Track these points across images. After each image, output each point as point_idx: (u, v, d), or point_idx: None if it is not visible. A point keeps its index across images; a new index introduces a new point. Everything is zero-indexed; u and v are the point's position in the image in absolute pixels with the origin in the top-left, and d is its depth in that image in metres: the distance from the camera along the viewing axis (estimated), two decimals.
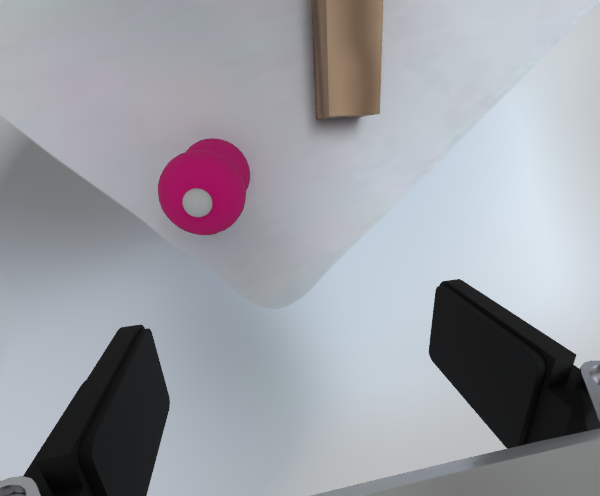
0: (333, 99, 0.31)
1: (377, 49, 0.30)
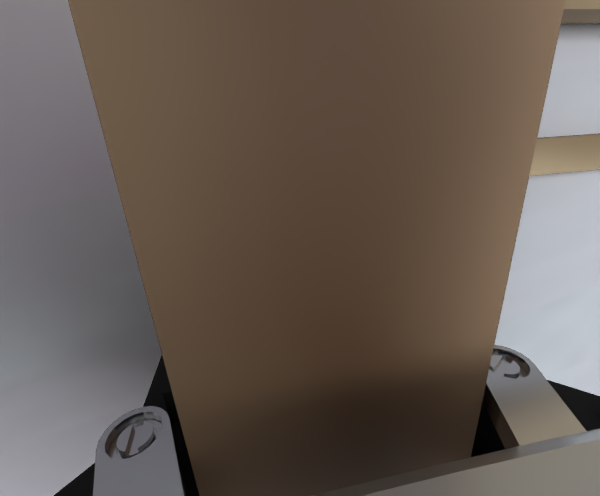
0: None
1: None
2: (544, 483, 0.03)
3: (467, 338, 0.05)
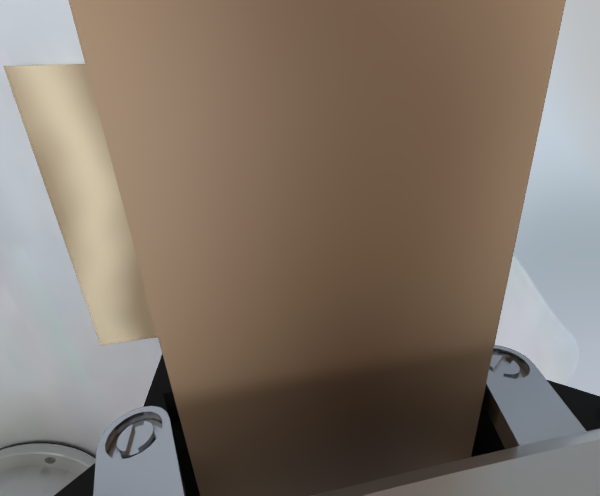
0: None
1: None
2: (544, 483, 0.03)
3: (468, 341, 0.05)
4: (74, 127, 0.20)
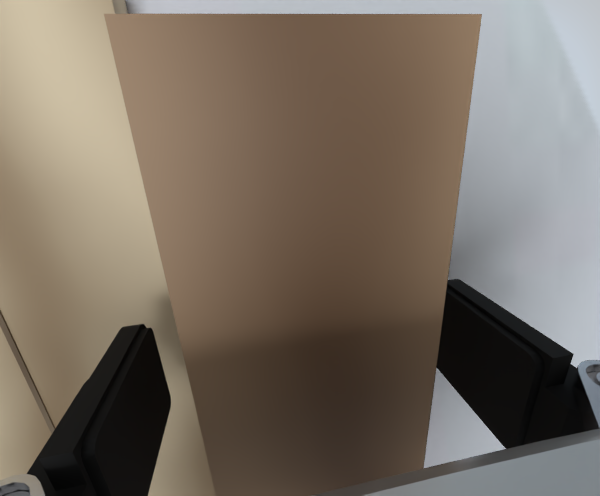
0: None
1: (409, 465, 0.08)
2: (544, 483, 0.03)
3: (420, 308, 0.07)
4: None
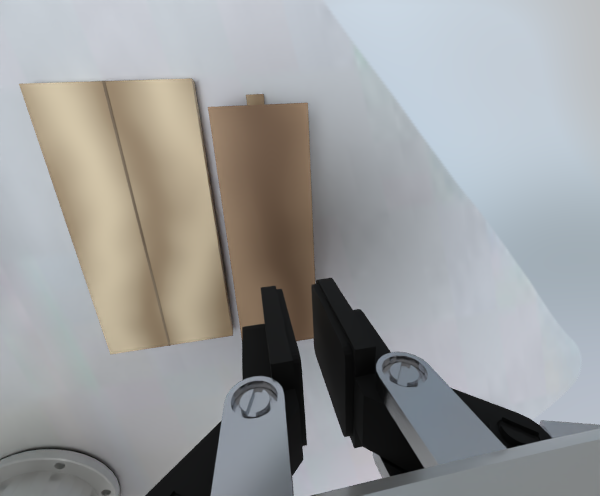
0: None
1: (308, 268, 0.21)
2: (544, 483, 0.03)
3: (302, 195, 0.19)
4: (87, 142, 0.20)
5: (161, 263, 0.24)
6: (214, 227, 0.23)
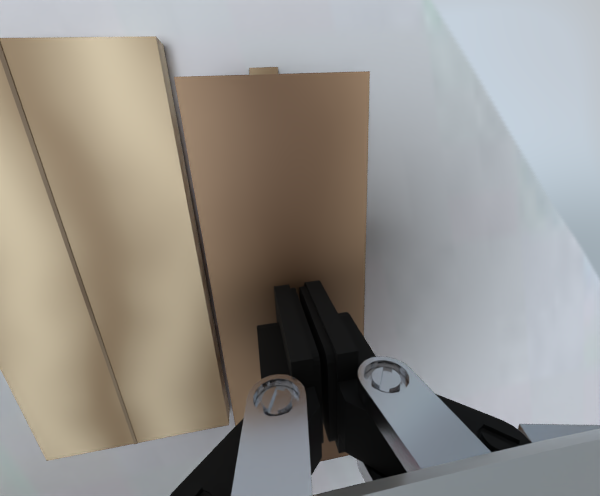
0: None
1: None
2: (544, 483, 0.03)
3: (350, 241, 0.11)
4: None
5: (118, 333, 0.15)
6: (199, 277, 0.15)
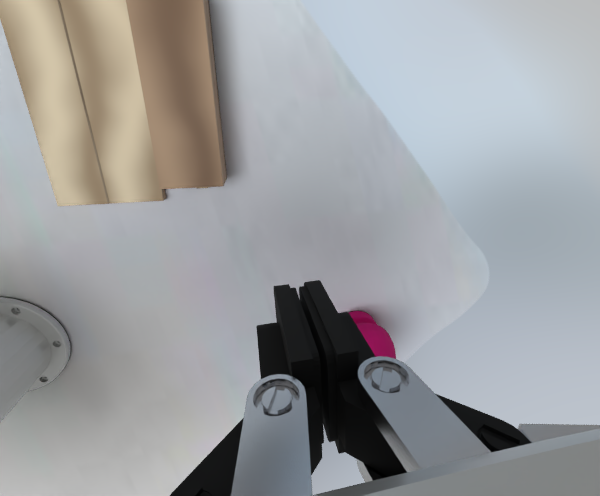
0: (162, 171, 0.27)
1: (210, 117, 0.26)
2: (544, 483, 0.03)
3: (201, 49, 0.24)
4: (34, 6, 0.25)
5: (99, 124, 0.29)
6: None
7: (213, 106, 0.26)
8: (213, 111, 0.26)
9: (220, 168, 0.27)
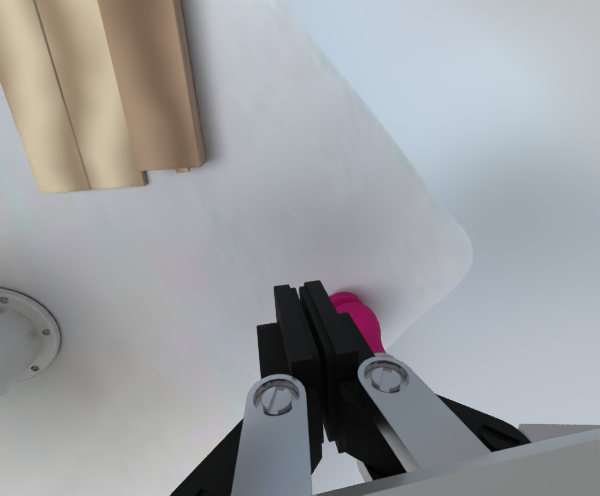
0: (139, 153, 0.27)
1: (183, 98, 0.26)
2: (544, 483, 0.03)
3: (170, 30, 0.25)
4: None
5: (77, 110, 0.29)
6: None
7: (185, 87, 0.26)
8: (186, 92, 0.26)
9: (196, 149, 0.28)
